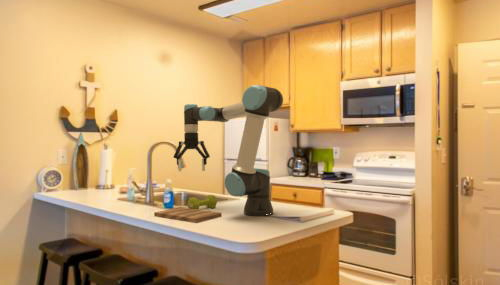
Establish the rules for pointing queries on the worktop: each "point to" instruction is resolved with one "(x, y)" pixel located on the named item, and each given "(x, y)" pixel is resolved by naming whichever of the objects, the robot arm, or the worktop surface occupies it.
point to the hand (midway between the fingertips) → (191, 170)
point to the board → (188, 214)
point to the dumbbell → (202, 202)
